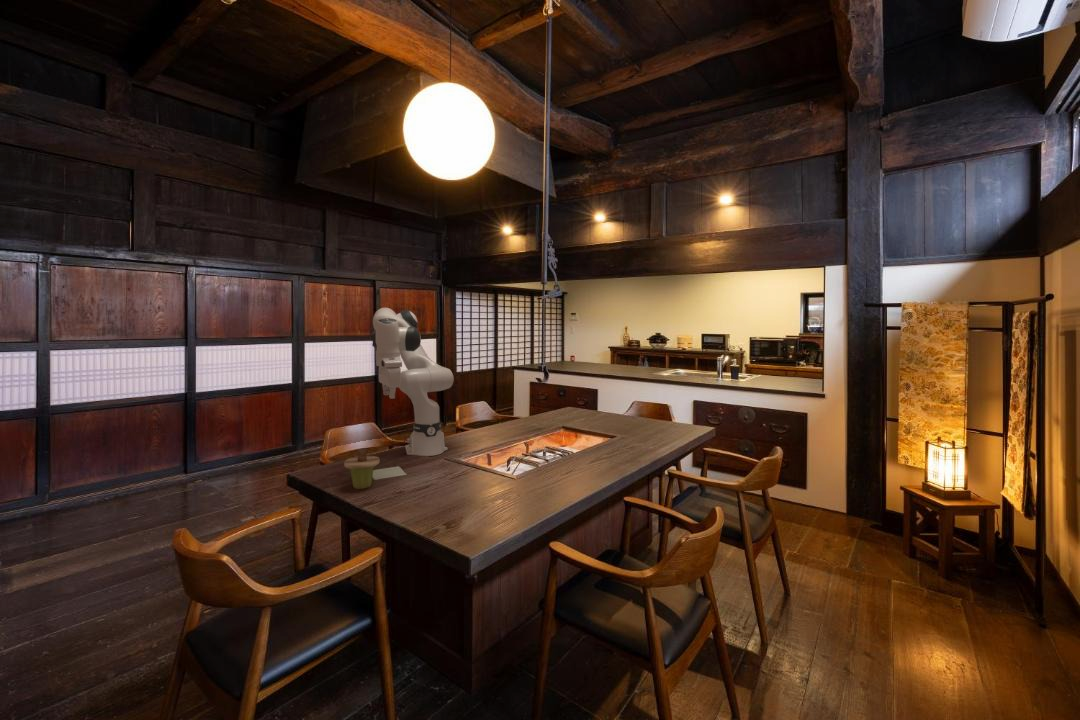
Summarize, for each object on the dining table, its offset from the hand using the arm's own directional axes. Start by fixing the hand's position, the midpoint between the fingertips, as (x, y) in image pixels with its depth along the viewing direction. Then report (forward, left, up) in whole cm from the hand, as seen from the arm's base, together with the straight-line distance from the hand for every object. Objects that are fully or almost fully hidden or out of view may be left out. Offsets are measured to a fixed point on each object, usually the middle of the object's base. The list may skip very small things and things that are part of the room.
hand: (389, 396), depth 180 cm
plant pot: (+8, -12, -31) cm, 34 cm away
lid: (+8, -12, -22) cm, 27 cm away
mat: (-2, -1, -31) cm, 31 cm away
